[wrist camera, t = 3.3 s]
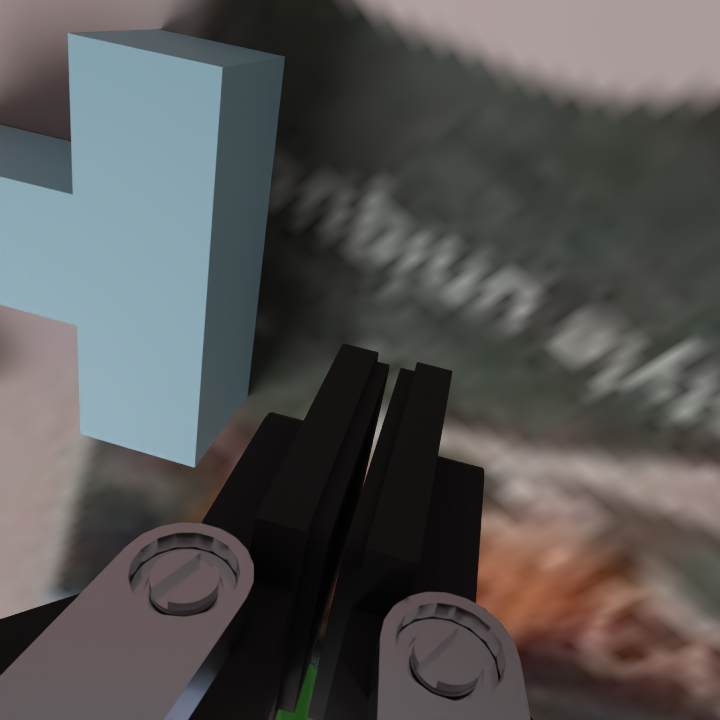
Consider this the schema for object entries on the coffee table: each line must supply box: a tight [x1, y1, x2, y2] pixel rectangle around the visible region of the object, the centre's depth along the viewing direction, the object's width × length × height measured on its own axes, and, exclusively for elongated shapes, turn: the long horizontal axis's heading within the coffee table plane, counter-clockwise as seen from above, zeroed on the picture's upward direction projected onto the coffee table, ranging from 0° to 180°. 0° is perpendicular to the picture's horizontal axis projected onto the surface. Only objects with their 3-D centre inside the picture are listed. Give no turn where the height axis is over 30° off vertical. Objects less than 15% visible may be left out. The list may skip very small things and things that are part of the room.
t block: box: [0, 29, 285, 467], centre depth 16 cm, size 8×9×4 cm
